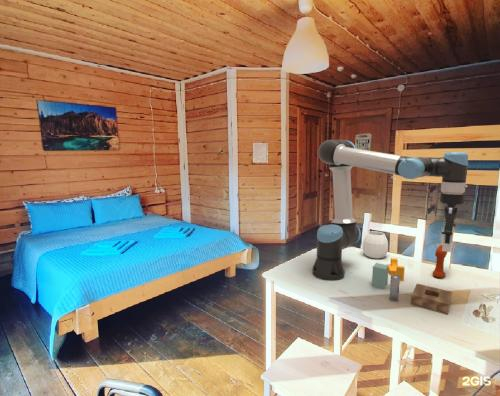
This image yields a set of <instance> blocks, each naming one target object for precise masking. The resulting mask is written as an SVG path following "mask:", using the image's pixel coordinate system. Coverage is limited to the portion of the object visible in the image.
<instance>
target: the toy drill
mask: <svg viewBox="0 0 500 396" xmlns="http://www.w3.org/2000/svg"><path fill="white" fill-rule="evenodd" d="M442 246H443V244H440V245H439V246H438V247H437V248H436V250H435V255H434V256H435V257H436V261H435V262H436V263H435V268H434V270H433V271H432V276H433V277H437V278H442V279H443V278H445V277H446V273H445V272H444V263H445V258H446V256H447V254H448V252H446V251H442Z"/></svg>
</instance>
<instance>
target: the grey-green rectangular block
mask: <svg viewBox="0 0 500 396" xmlns="http://www.w3.org/2000/svg"><path fill="white" fill-rule="evenodd" d="M388 268H389V265H387V264H383V263H378V262H375V264H374V265H372V276H371V287H376V288H379V289H383V290H385V289H386V287H387V286H388V281H389V280H388V279H389V273H388Z"/></svg>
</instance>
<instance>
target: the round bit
mask: <svg viewBox="0 0 500 396" xmlns="http://www.w3.org/2000/svg"><path fill="white" fill-rule="evenodd" d="M400 282H401V281H400V276H399V275H395V274H392V275H390V285H389V298H388V299H389V300H390V301H391V302H395V303H396V302H399V295H400V284H401V283H400Z"/></svg>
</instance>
